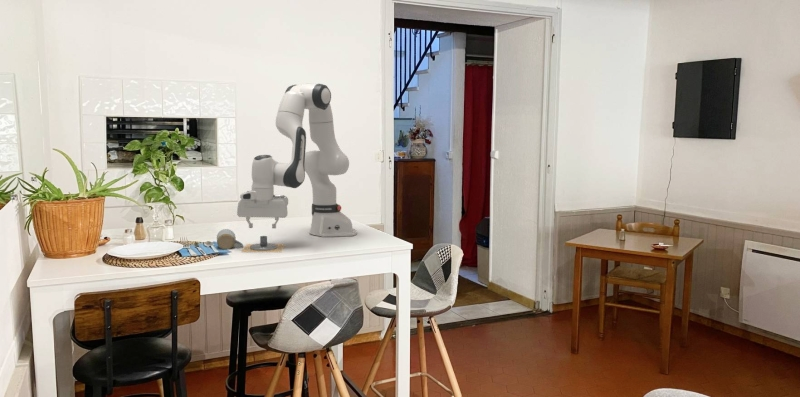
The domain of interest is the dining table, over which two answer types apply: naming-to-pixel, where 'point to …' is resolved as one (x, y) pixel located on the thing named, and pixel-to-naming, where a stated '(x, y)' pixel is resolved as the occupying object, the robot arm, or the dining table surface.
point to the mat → (247, 249)
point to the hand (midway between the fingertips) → (262, 228)
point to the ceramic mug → (227, 240)
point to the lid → (263, 245)
